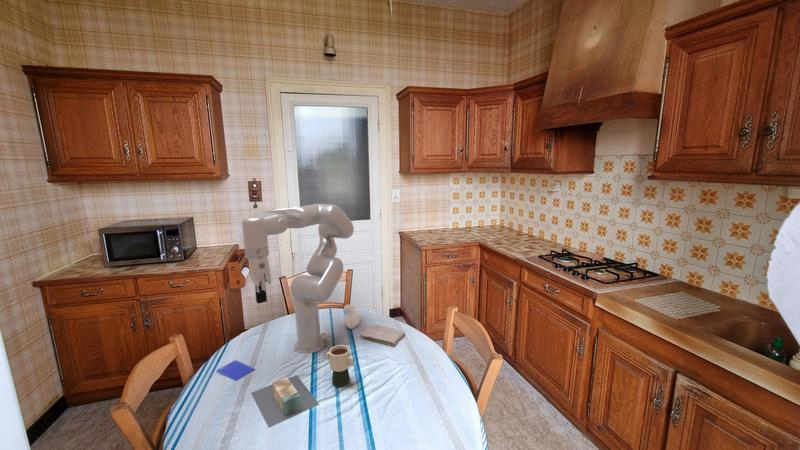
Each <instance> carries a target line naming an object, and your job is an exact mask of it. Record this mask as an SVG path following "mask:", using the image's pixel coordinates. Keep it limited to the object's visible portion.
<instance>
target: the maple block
mask: <svg viewBox="0 0 800 450" xmlns="http://www.w3.org/2000/svg"><path fill="white" fill-rule="evenodd" d="M288 378H289V377H288V376H286V377H283V378H280V379H278V380H275V381H273V382H271V385H272V387H273V396H274V398H275V400H276V401H277V403H278V405H279V406H280V408H281V410H282V411H283V413H284V415H285V417H286V416H288V415H290V414H292V413H294V412H297V411H299V410H301V401H300V395H299V393H298V392H297V390H296V389H295V388H294V386H293V385H292V383H291V382H290V381H289V379H288Z"/></svg>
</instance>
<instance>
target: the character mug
mask: <svg viewBox="0 0 800 450" xmlns="http://www.w3.org/2000/svg"><path fill="white" fill-rule="evenodd" d="M326 360H327V361H328V362H329V367H330V370H331V371H332V377H331V378H332V379H331V380H332V382H331V384H332V385H333V387H334V388H343V387H346V386H347V385H348V384H350V382H351V377H350V372H349V368H350V367H354V366H355V365H354V357H352V356H351V352H350V347H349V346H348V345H345V344H337V345H335V346H332V347H331V348H330V349H329V351H326Z"/></svg>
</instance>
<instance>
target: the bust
mask: <svg viewBox="0 0 800 450" xmlns="http://www.w3.org/2000/svg"><path fill="white" fill-rule="evenodd" d="M355 309H356V308H355V306H354V304H353V303H352V304H345V306H344V307H343V310H344V312H345V313H346V314H345V315H344V318H343V319H344V320H343V323H344V325H345V327H347V328H348V329H349V330H351V329H355V328H356V327H357V326H359V325H360V322H361V318H362V316H361V313H360V311H359V310H355Z"/></svg>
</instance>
